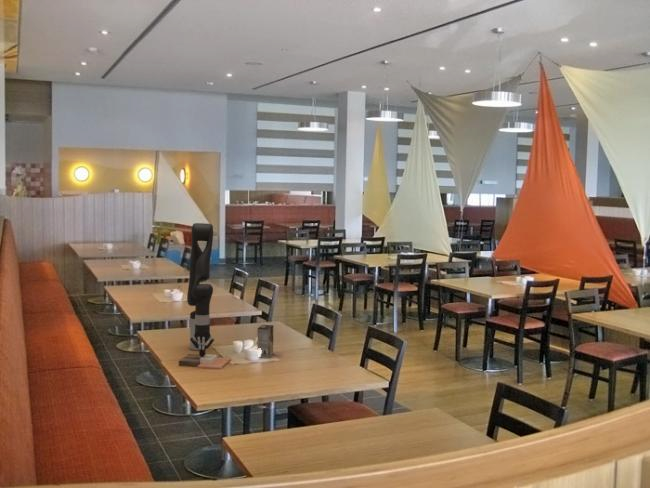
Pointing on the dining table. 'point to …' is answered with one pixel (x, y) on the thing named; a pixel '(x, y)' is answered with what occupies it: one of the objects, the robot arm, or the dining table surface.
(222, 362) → the terracotta mat
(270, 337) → the coffee box
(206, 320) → the robot arm
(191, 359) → the walnut deck
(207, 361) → the cream tile
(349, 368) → the dining table surface
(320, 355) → the dining table surface
